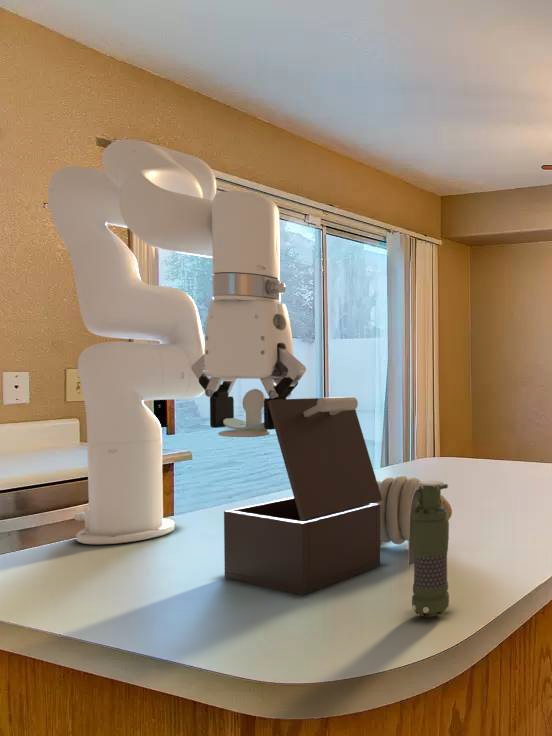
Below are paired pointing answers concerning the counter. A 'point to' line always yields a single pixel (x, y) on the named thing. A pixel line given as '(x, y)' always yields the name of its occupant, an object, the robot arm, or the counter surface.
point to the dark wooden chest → (299, 545)
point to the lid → (324, 454)
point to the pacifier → (248, 418)
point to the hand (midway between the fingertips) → (248, 426)
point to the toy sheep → (398, 508)
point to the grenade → (429, 549)
